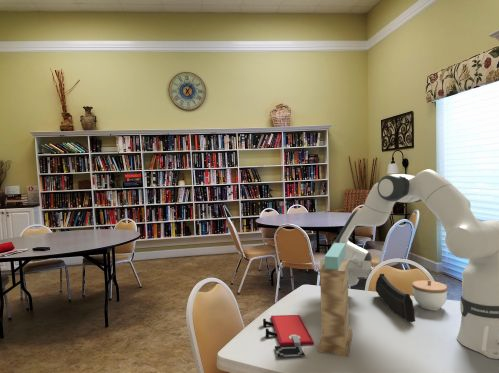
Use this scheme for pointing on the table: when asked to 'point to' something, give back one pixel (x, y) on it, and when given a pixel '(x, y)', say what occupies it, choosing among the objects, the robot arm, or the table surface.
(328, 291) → the pedestal
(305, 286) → the table surface
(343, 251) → the rod
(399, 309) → the magazine
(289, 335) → the red board with handle
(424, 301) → the lidded bowl
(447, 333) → the table surface
